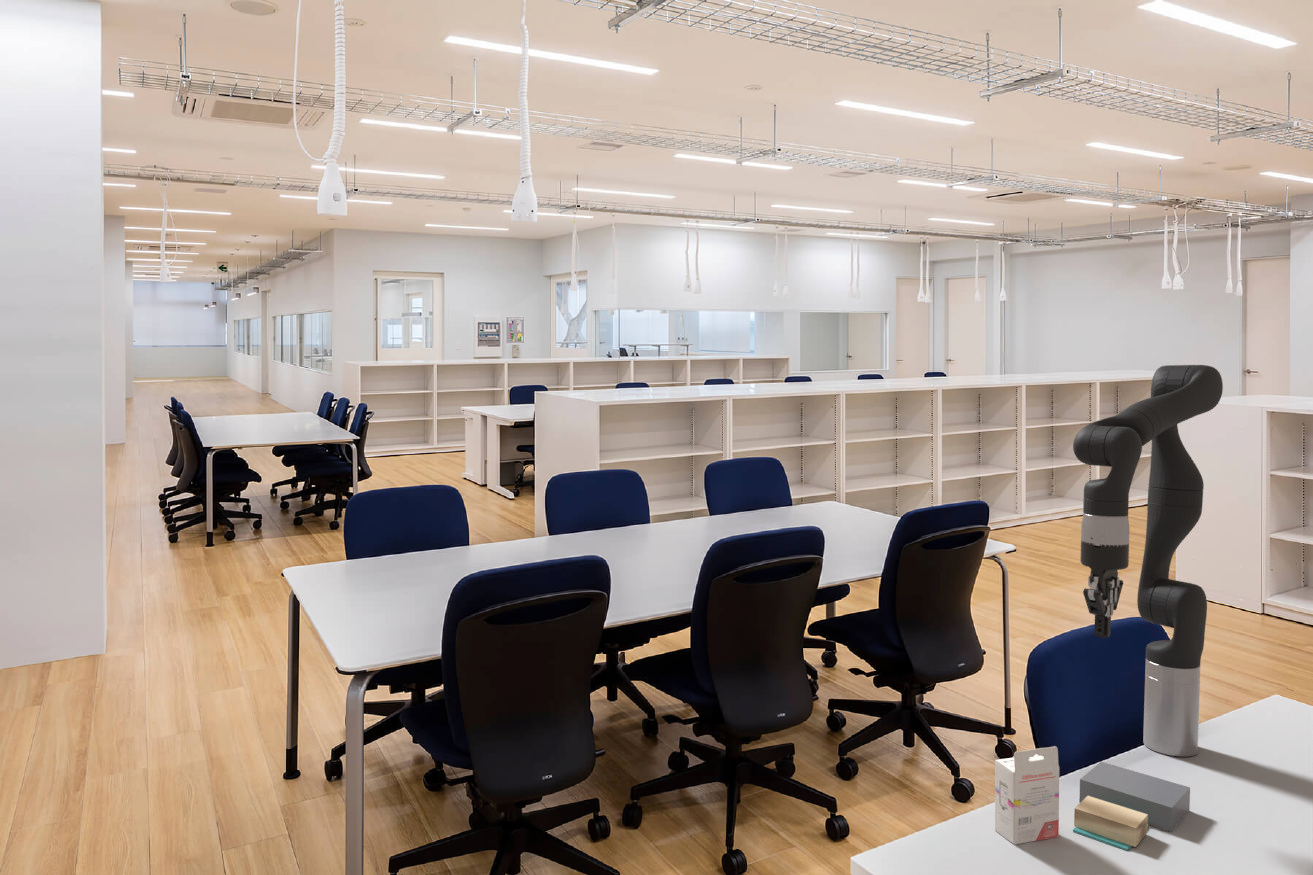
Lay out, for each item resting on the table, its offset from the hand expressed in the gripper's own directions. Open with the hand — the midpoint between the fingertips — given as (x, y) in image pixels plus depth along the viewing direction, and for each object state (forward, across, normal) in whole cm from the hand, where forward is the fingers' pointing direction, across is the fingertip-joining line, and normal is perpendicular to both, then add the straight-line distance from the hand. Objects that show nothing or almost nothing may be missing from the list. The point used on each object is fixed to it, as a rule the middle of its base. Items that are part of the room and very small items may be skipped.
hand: (1102, 636), depth 152 cm
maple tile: (+25, +16, +7) cm, 31 cm away
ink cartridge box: (+27, +26, -2) cm, 38 cm away
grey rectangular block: (+27, +4, +7) cm, 28 cm away
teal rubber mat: (+27, +15, +7) cm, 32 cm away
